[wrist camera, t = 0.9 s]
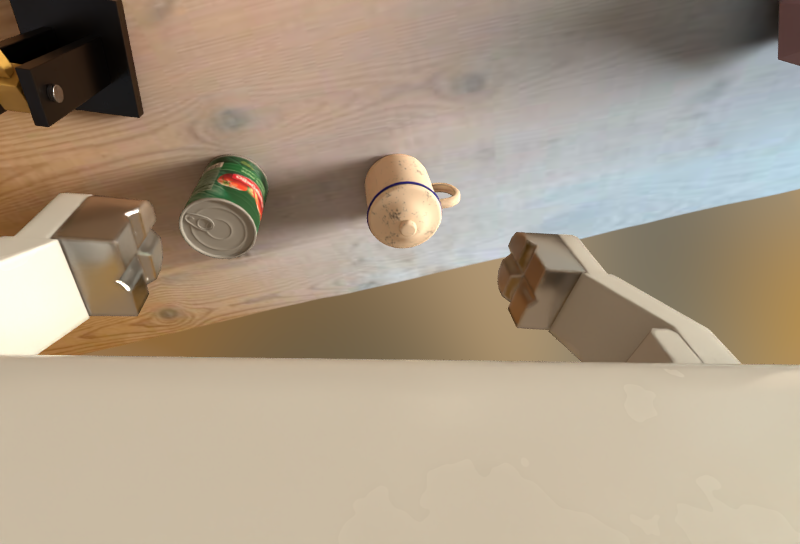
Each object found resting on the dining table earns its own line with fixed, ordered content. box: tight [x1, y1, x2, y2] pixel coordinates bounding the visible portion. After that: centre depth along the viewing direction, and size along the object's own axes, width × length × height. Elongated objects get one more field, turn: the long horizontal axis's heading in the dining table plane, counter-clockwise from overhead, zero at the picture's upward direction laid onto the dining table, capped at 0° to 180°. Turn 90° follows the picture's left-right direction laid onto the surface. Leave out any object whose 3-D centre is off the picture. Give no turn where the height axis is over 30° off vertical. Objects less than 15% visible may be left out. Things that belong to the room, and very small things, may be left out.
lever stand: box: [0, 0, 143, 127], centre depth 37 cm, size 11×9×14 cm
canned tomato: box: [179, 155, 269, 259], centre depth 49 cm, size 8×8×11 cm
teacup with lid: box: [365, 154, 460, 248], centre depth 51 cm, size 12×9×12 cm
